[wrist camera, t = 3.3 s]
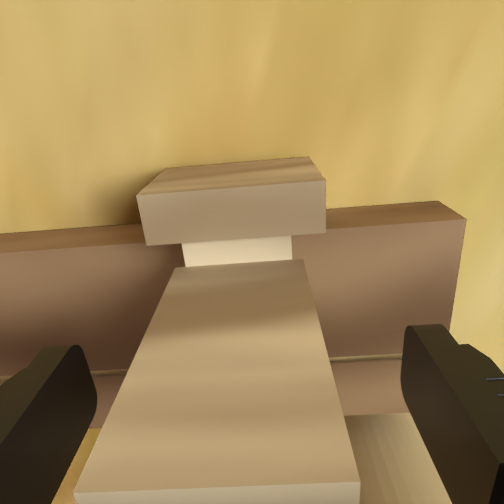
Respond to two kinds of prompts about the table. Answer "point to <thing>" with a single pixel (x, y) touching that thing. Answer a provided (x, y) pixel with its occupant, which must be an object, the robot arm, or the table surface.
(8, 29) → the table surface
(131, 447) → the beige stepped block
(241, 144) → the table surface
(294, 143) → the table surface
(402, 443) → the coffee cup
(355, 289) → the board
